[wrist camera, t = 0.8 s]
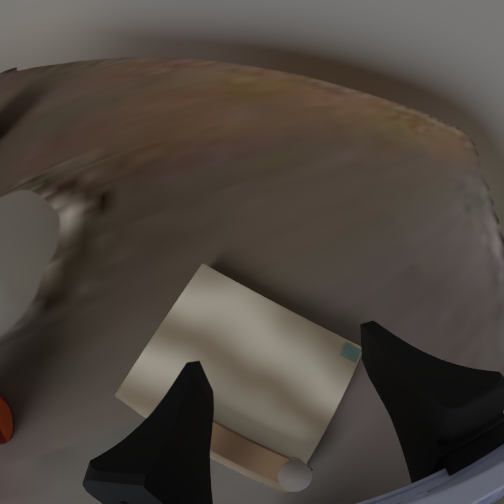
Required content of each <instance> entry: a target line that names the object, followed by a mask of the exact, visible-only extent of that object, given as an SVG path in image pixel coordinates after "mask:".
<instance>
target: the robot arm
mask: <svg viewBox="0 0 504 504" xmlns="http://www.w3.org/2000/svg"><path fill="white" fill-rule="evenodd" d="M361 352H362V361H363V363H364V366H365V368H366V371H367V373H368V376H369V378H370V380H371V382H372V383H373V385H374V387H375V389H376V391H377V393H378V394H379V396H380V398H381V400H382V402H383V404H384V405H385V407H386V409H387V411H388V413H389V415H390V417H391V419H392V422H393V425H394V427H395V430H396V433H397V435H398V438H399V441H400V444H401V447H402V450H403V453H404V457H405V460H406V463H407V467H408V470H409V474H410V478H411V482H412V484H410V485H407V486H405V487H402V488H400V489H397V490H394V491H392V492H389V493H386V494H383V495H381V496H378V497H375V498H372V499H369V500H365V501H362V502H359V503H355V504H493V503H494V502H496V501H497V500H499V499H500V498H501V497H503V496H504V414H503V410H504V376H503V375H502V374H501V373H500V372H496V371H486V370H478V369H473V368H468V367H464V366H460V365H456V364H453V363H450V362H447V361H444V360H441V359H438V358H436V357H434V356H431V355H429V354H427V353H425V352H423V351H421V350H419V349H417V348H415V347H413V346H411V345H410V344H408V343H406V342H405V341H403V340H402V339H400V338H398V337H397V336H395V335H394V334H392V333H391V332H389V331H388V330H386V329H385V328H383V327H382V326H381V325H379V324H378V323H376V322H375V321H370V322H367V323H363V324H361ZM213 417H214V395H213V390H212V387H211V385H210V383H209V381H208V379H207V376H206V374H205V372H204V370H203V367H202V365H201V363H200V361H193V362H187V363H186V364H185V366H184V367H183V369H182V370H181V372H180V373H179V375H178V377H177V378H176V380H175V381H174V383H173V384H172V386H171V387H170V389H169V390H168V392H167V393H166V395H165V396H164V398H163V399H162V400H161V401H160V403H159V404H158V405H157V407H156V408H155V409H154V410H153V412H152V413H151V414H150V415H149V416H148V417H147V418H146V419H145V420H144V422H143V423H142V424H141V425H140V426H139V427H137V428H136V429H135V430H134V431H133V432H132V433H131V434H130V435H128V436H127V437H126V438H125V439H124V440H122V441H121V442H120V443H118V444H117V445H115V446H114V447H113V448H111V449H110V450H108V451H106V452H105V453H103V454H101V455H99V456H98V457H96V458H94V459H92V460H90V463H89V466H88V469H87V472H86V475H85V478H84V481H83V486H84V488H85V490H86V491H87V492H88V493H89V494H91V495H92V496H93V497H94V498H96V499H97V500H98V501H100V502H101V503H102V504H213V502H212V492H211V477H210V447H211V437H212V427H213Z"/></svg>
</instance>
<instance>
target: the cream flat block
mask: <svg viewBox="0 0 504 504" xmlns="http://www.w3.org/2000/svg"><path fill="white" fill-rule="evenodd" d="M361 355H362V352H361V346H359V345H357V344H355V343H353V342H351V341H349V340H347V339H345V338H343V337H341V336H339V335H337V334H335V333H333V332H331V331H329V330H327V329H325V328H323V327H321V326H319V325H317V324H315V323H313V322H311V321H309V320H307V319H305V318H303V317H301V316H299V315H298V314H296V313H294V312H292V311H290V310H288V309H286V308H284V307H282V306H280V305H278V304H277V303H275V302H273V301H271V300H269V299H267V298H265V297H263V296H261V295H260V294H258V293H256V292H254V291H252V290H250V289H248V288H247V287H245V286H243V285H241V284H239V283H237V282H235V281H234V280H232V279H230V278H228V277H226V276H224V275H223V274H221V273H219V272H217V271H215V270H214V269H212V268H210V267H208V266H206V265H205V264H202V265H201V266H200V268H199V269H198V271H197V272H196V274H195V275H194V277H193V278H192V279H191V281H190V282H189V284H188V285H187V287H186V288H185V290H184V291H183V293H182V294H181V295H180V297H179V298H178V300H177V301H176V303H175V304H174V306H173V307H172V309H171V310H170V312H169V313H168V315H167V316H166V318H165V319H164V321H163V322H162V324H161V325H160V327H159V328H158V330H157V331H156V333H155V334H154V336H153V337H152V339H151V340H150V342H149V343H148V345H147V346H146V348H145V349H144V351H143V352H142V354H141V355H140V357H139V358H138V360H137V362H136V363H135V365H134V366H133V368H132V369H131V371H130V372H129V374H128V375H127V377H126V379H125V380H124V382H123V383H122V385H121V386H120V388H119V390H118V391H117V393H116V394H115V396H116V397H117V398H119V399H120V400H121V401H123V402H124V403H125V404H127V405H128V406H129V407H131V408H132V409H133V410H135V411H136V412H138V413H139V414H140V415H142V416H143V417H145V418H147V417H148V416H149V415H150V414H151V413H152V412H153V410H154V409H155V408H156V407H157V405H158V404H159V403H160V401H161V400H162V399H163V398H164V396H165V395H166V393H167V392H168V390H169V389H170V387H171V386H172V384H173V383H174V381H175V380H176V378H177V377H178V375H179V373H180V372H181V370H182V369H183V367H184V366H185V364H186V363H187V362H193V361H200V363H201V365H202V367H203V370H204V372H205V374H206V376H207V379H208V381H209V383H210V385H211V387H212V390H213V395H214V417H213V420H215V421H217V422H219V423H220V424H222V425H224V426H226V427H228V428H230V429H231V430H233V431H235V432H237V433H239V434H241V435H243V436H245V437H247V438H249V439H251V440H253V441H255V442H257V443H259V444H261V445H263V446H265V447H268V448H270V449H272V450H274V451H276V452H278V453H281V454H283V455H285V456H287V457H296V458H298V459H300V460H301V461H302V462H303V463H305V464H307V462H308V460H309V459H310V457H311V455H312V454H313V452H314V450H315V448H316V447H317V445H318V443H319V441H320V439H321V438H322V436H323V434H324V432H325V430H326V428H327V426H328V425H329V423H330V421H331V419H332V417H333V415H334V413H335V411H336V409H337V407H338V405H339V403H340V401H341V399H342V397H343V395H344V393H345V390H346V388H347V386H348V384H349V382H350V380H351V378H352V375H353V373H354V371H355V369H356V366H357V364H358V362H359V359H360V357H361ZM210 458H211V459H213V460H215V461H217V462H219V463H221V464H223V465H225V466H227V467H229V468H231V469H233V470H235V471H237V472H239V473H241V474H243V475H245V476H247V477H249V478H252V479H254V480H256V481H258V482H261V483H263V484H265V485H268V486H270V487H272V488H275V489H277V490H280V491H282V492H285V493H287V494H288V492H289V491H287V490H285V489H284V488H282V486H281V485H280V483H278V482H275V481H273V480H270V479H268V478H266V477H263V476H261V475H259V474H257V473H255V472H252V471H250V470H248V469H246V468H244V467H242V466H240V465H238V464H236V463H234V462H232V461H230V460H228V459H226V458H224V457H222V456H220V455H218V454H216V453H214V452H213V451H211V450H210Z"/></svg>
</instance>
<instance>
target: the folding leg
mask: <svg viewBox="0 0 504 504" xmlns="http://www.w3.org/2000/svg"><path fill="white" fill-rule="evenodd" d="M210 450H211V451H213V452H214V453H216V454H218V455H220V456H222V457H224V458H226V459H228V460H230V461H232V462H234V463H236V464H238V465H240V466H242V467H244V468H246V469H248V470H250V471H252V472H255V473H257V474H259V475H261V476H263V477H266V478H268V479H270V480H273V481H275V482H278V483H280V485H281V486H282V488H284V489H285V490H287V491H290V492H298V491H301V490H303V489H305V488H306V487H308V486H309V484H310V483H311V481H312V478H313V474H312V470H313V469H312V468H310V467H309V466H308V465H307V464H305V463H303V462H302V461H301V460H300V459H298V458H296V457H287V456H285V455H283V454H281V453H278V452H276V451H274V450H272V449H270V448H268V447H265V446H263V445H261V444H259V443H257V442H255V441H253V440H251V439H249V438H247V437H245V436H243V435H241V434H239V433H237V432H235V431H233V430H231V429H230V428H228V427H226V426H224V425H222V424H220V423H219V422H217V421H215V420H213V427H212V437H211V447H210Z"/></svg>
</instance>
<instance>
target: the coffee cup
mask: <svg viewBox="0 0 504 504" xmlns="http://www.w3.org/2000/svg"><path fill="white" fill-rule="evenodd" d="M13 428H14V424H13V417H12V413H11V410H10V408H9V406H8V404H7V402H6V401H5V399H4V398H3V397H2V396H0V445H1V444H5V443H7V442H8V441H9V440H10V439H11V437H12V434H13Z"/></svg>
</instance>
